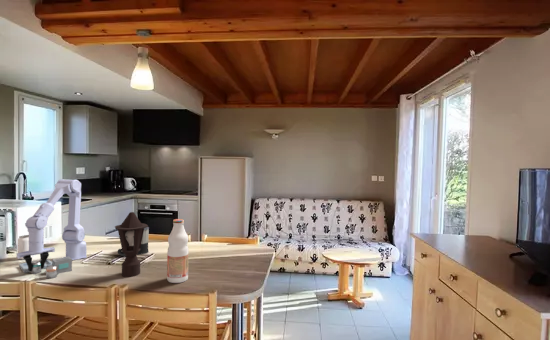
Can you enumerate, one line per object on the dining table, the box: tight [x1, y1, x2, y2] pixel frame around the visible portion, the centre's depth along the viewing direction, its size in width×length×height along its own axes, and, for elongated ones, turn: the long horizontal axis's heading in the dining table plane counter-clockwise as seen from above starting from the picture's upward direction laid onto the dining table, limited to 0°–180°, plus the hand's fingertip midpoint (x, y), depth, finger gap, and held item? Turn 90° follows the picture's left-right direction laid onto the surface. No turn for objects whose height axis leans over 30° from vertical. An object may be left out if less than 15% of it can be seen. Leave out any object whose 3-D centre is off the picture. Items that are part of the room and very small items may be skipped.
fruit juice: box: [166, 218, 189, 284], centre depth 146 cm, size 9×9×28 cm
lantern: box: [114, 211, 149, 278], centre depth 152 cm, size 15×15×30 cm
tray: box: [18, 258, 52, 274], centre depth 158 cm, size 12×12×2 cm
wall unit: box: [51, 256, 73, 275], centre depth 153 cm, size 7×5×6 cm
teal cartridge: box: [30, 260, 42, 275], centre depth 151 cm, size 4×4×5 cm
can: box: [17, 234, 34, 261], centre depth 172 cm, size 6×6×12 cm
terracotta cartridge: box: [45, 265, 58, 280], centre depth 145 cm, size 4×4×5 cm
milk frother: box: [116, 226, 150, 258], centre depth 183 cm, size 14×16×15 cm
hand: (36, 269), depth 151 cm, fingers closed on teal cartridge, 4 cm apart
